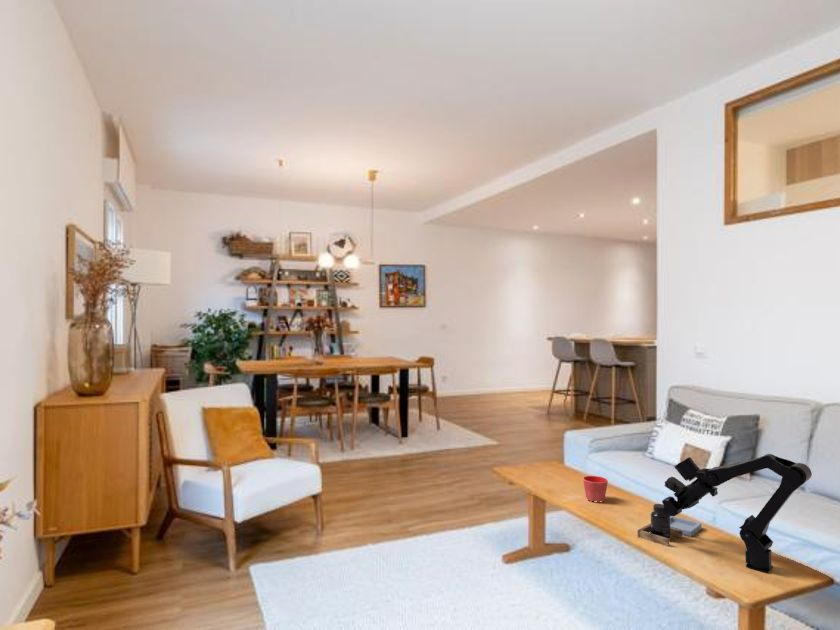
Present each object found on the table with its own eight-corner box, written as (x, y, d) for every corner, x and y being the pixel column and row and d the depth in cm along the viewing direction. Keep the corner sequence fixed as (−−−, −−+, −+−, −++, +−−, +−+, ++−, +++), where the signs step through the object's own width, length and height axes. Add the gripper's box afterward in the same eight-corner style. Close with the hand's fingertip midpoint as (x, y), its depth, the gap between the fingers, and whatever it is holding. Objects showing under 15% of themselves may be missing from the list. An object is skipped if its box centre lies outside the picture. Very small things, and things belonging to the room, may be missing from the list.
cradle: (682, 537, 203) (682, 530, 203) (667, 546, 195) (667, 539, 195) (652, 528, 211) (652, 522, 211) (637, 536, 204) (637, 530, 204)
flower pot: (602, 496, 251) (602, 475, 251) (611, 504, 240) (611, 482, 240) (580, 496, 251) (579, 475, 251) (588, 504, 240) (587, 482, 240)
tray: (701, 528, 211) (701, 523, 211) (690, 537, 203) (690, 531, 203) (670, 520, 220) (670, 515, 220) (658, 528, 211) (658, 523, 211)
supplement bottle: (646, 535, 205) (646, 503, 205) (660, 532, 207) (660, 501, 208) (660, 542, 199) (660, 509, 199) (674, 539, 201) (674, 507, 201)
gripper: (690, 467, 204) (661, 489, 212) (667, 476, 192) (638, 499, 200) (712, 493, 198) (681, 514, 206) (690, 504, 186) (658, 527, 194)
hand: (665, 513), depth 202 cm, fingers open, 9 cm apart
